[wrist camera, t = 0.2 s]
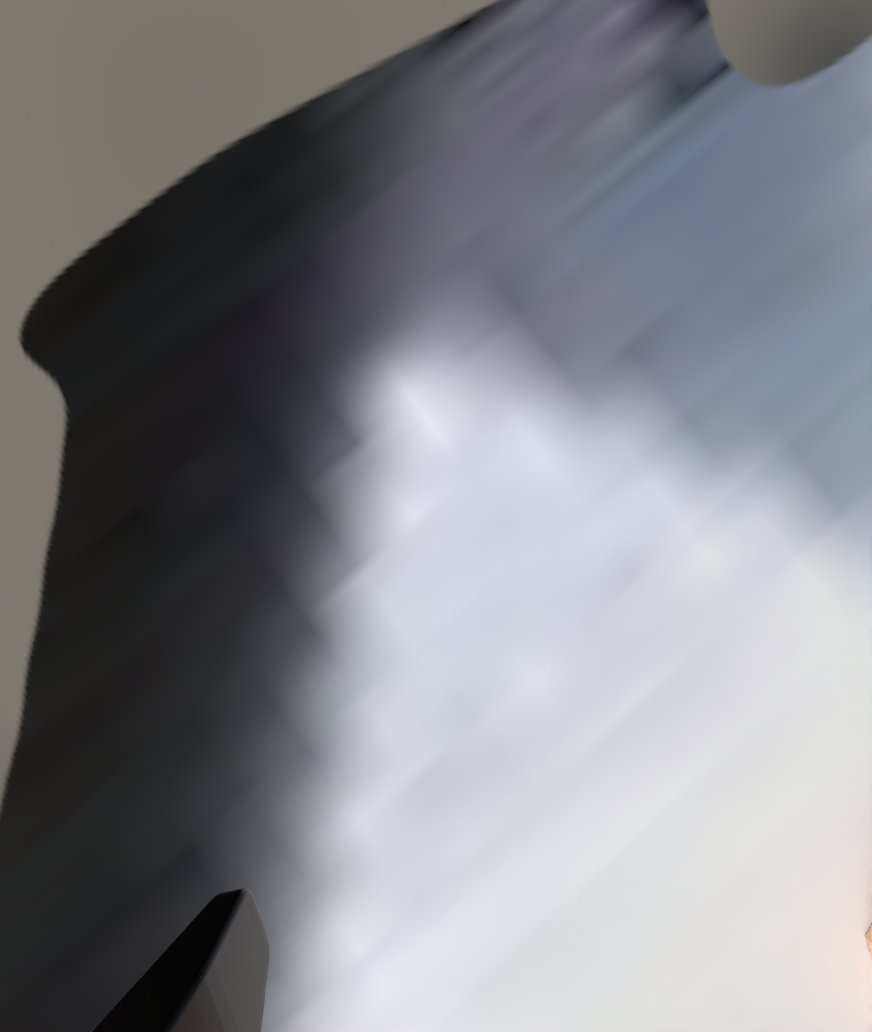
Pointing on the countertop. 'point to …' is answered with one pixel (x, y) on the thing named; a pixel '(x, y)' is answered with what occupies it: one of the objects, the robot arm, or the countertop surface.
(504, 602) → the countertop surface
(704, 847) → the countertop surface
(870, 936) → the ring
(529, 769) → the countertop surface
